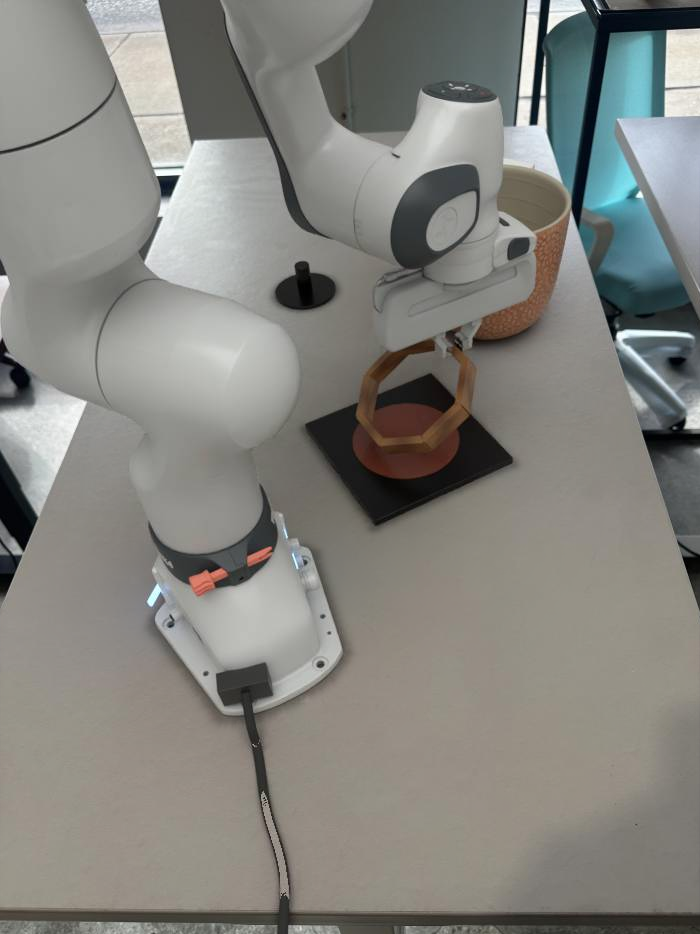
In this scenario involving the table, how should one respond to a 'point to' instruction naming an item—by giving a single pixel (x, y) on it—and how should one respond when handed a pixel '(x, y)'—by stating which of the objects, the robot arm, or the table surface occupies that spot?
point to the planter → (548, 218)
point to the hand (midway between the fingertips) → (453, 351)
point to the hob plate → (405, 474)
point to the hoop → (441, 426)
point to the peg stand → (305, 289)
